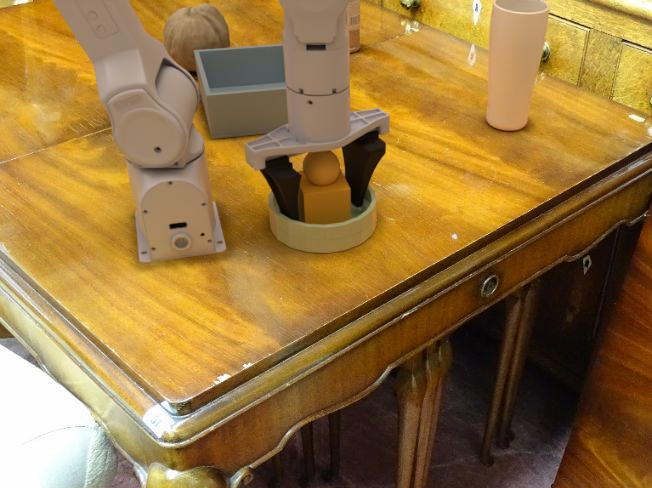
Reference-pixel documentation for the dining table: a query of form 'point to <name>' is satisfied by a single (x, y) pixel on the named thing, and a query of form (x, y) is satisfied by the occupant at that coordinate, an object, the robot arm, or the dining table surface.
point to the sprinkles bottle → (353, 25)
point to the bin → (243, 89)
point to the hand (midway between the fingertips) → (323, 212)
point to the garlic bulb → (194, 33)
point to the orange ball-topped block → (323, 190)
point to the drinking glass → (514, 60)
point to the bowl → (325, 228)
